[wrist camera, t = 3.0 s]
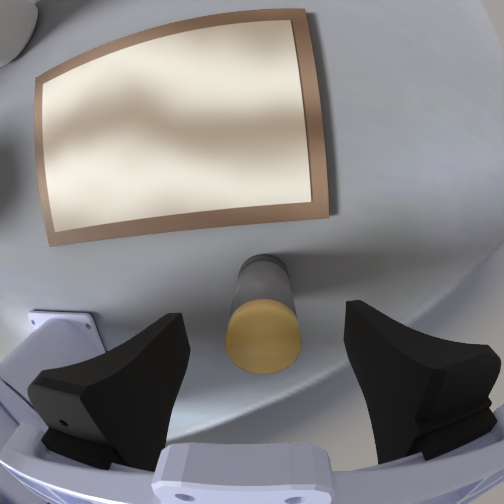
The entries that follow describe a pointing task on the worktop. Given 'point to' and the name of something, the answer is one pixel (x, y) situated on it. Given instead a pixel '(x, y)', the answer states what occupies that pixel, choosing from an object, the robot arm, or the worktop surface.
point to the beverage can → (15, 27)
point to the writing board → (183, 130)
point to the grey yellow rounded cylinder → (263, 318)
